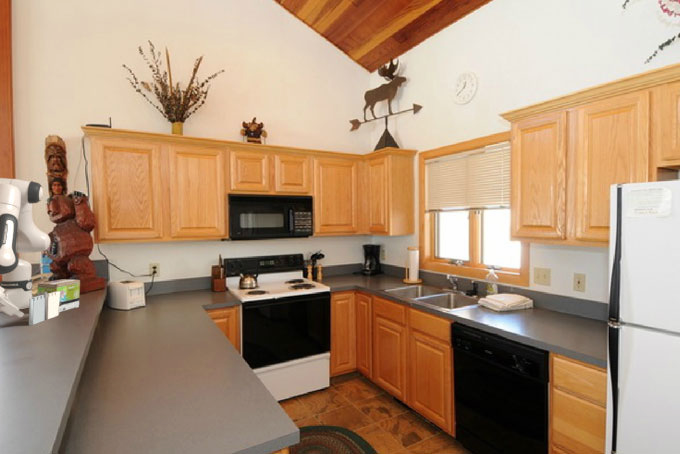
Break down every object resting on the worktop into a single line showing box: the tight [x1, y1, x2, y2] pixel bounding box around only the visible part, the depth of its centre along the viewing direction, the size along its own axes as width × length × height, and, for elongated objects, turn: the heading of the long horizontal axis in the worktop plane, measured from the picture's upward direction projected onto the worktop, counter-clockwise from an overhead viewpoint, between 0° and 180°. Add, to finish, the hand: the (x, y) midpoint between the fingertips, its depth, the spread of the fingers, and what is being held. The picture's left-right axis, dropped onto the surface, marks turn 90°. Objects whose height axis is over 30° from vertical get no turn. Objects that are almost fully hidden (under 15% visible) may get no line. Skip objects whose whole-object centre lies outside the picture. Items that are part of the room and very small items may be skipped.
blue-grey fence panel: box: [28, 295, 45, 326], centre depth 153 cm, size 8×1×11 cm, turn 6°
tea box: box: [36, 278, 81, 313], centre depth 177 cm, size 15×10×15 cm, turn 179°
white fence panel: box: [44, 291, 60, 321], centre depth 162 cm, size 1×9×13 cm, turn 6°
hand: (22, 315), depth 149 cm, fingers closed
